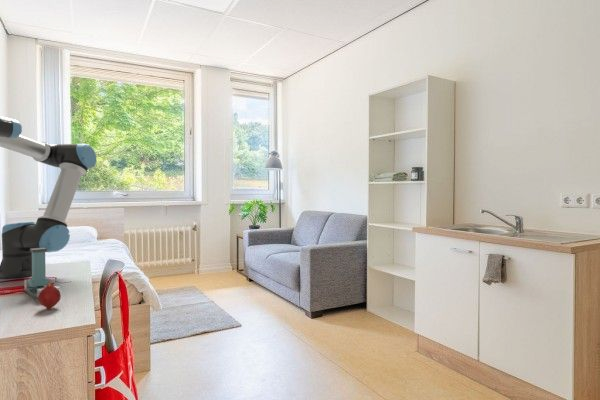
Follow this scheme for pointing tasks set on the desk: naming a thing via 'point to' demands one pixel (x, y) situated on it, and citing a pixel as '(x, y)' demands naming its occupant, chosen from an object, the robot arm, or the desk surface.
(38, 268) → the carriage
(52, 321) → the desk surface
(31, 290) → the rail
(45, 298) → the onion
